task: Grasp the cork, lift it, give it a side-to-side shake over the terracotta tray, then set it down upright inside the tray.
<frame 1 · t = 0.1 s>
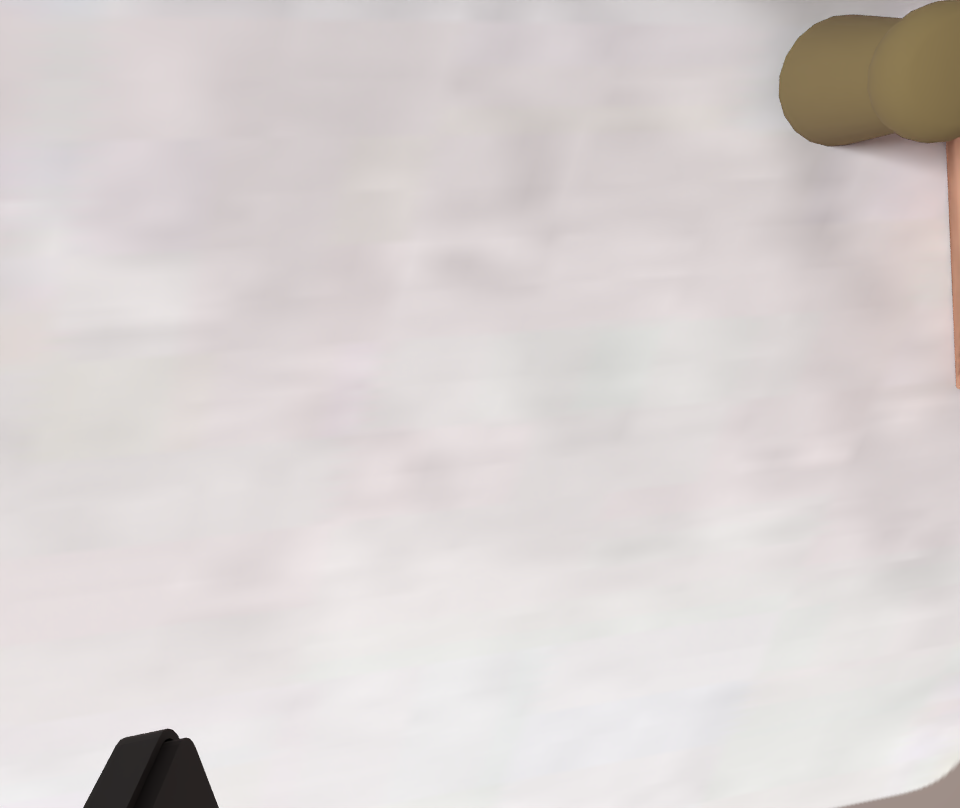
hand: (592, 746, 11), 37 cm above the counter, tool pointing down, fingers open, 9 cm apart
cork: (838, 81, 43), on the counter
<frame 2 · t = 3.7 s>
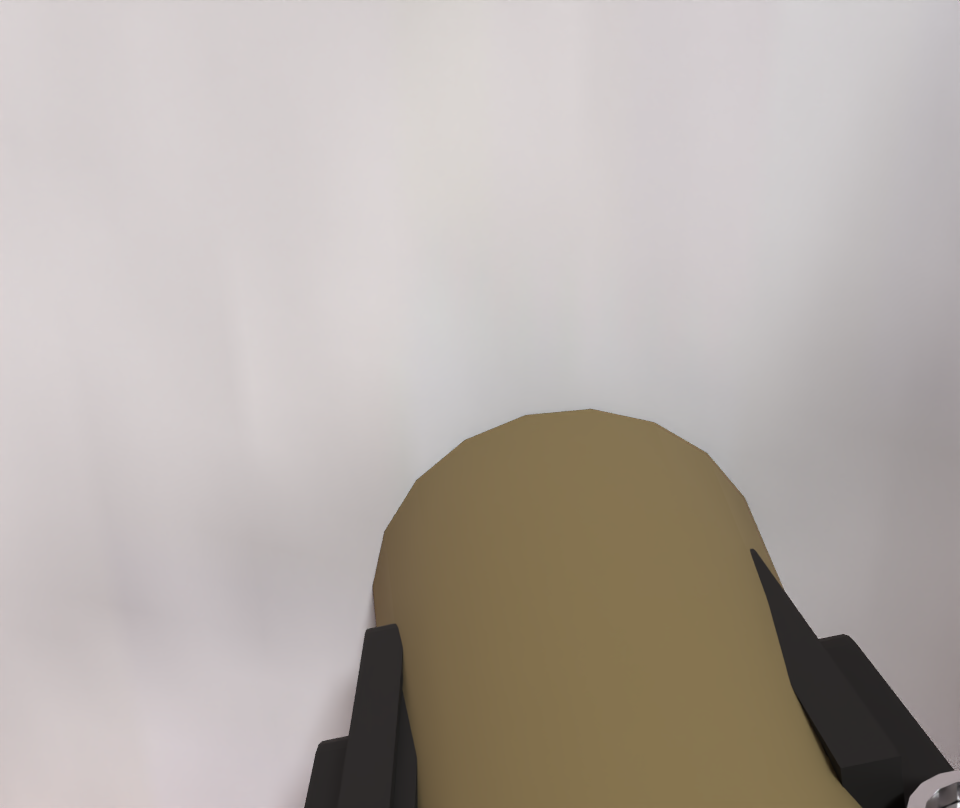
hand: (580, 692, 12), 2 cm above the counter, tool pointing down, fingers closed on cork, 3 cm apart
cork: (568, 588, 14), on the counter, touching gripper
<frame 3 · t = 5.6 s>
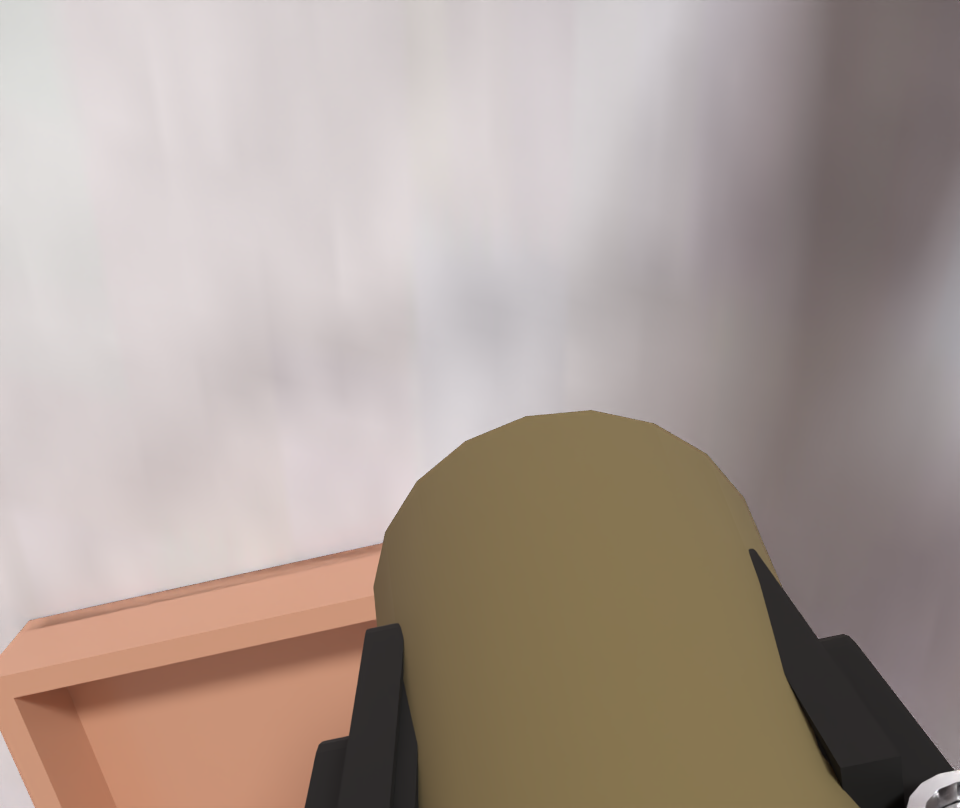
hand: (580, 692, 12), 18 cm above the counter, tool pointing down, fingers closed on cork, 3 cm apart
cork: (568, 589, 14), point 15 cm above the counter, touching gripper
terracotta tray: (279, 723, 32), on the counter
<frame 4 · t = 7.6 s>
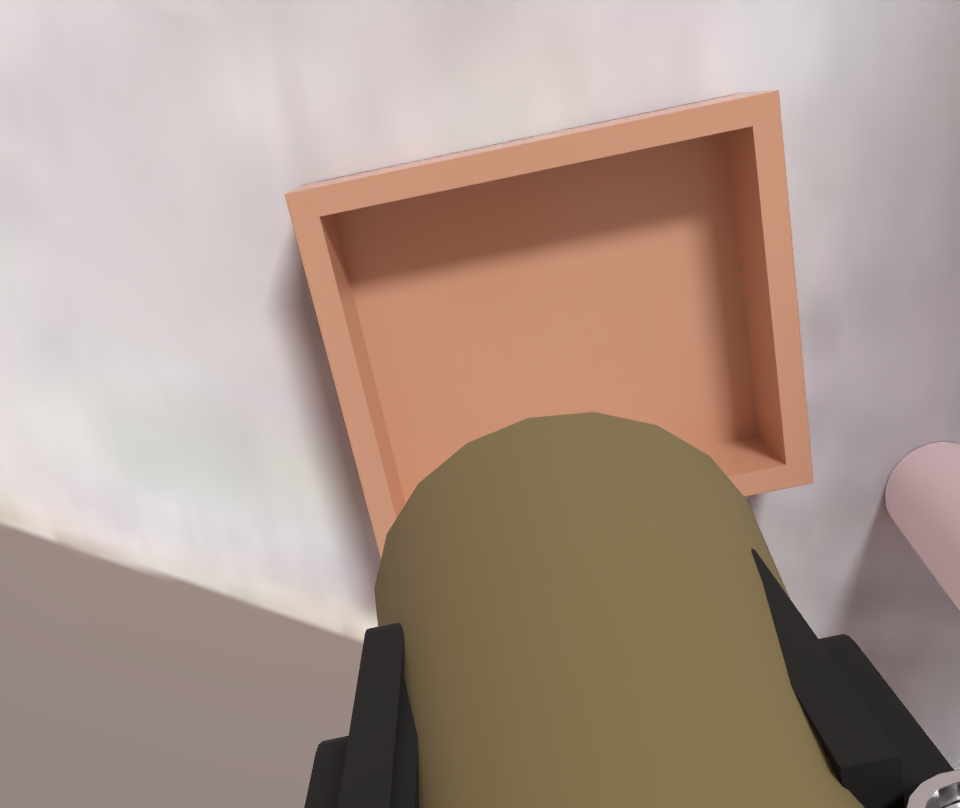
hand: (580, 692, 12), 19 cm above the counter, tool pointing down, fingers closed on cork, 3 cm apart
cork: (570, 591, 14), point 17 cm above the counter, touching gripper
smoothie: (932, 487, 33), on the counter
terracotta tray: (552, 321, 30), on the counter
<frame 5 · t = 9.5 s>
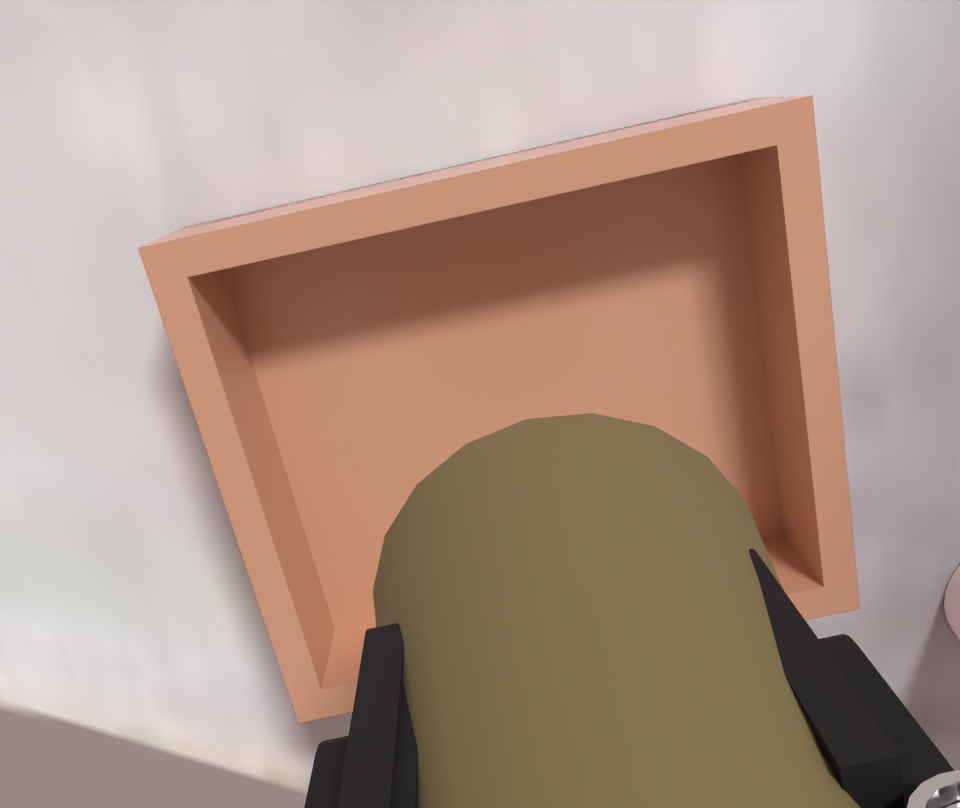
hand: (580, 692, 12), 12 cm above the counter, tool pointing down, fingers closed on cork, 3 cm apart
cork: (568, 592, 14), point 10 cm above the counter, touching gripper
terracotta tray: (516, 395, 23), on the counter
when the fingers open (4 cm above the counter, at t = 11.2 s): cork drops 1 cm, resting on terracotta tray.
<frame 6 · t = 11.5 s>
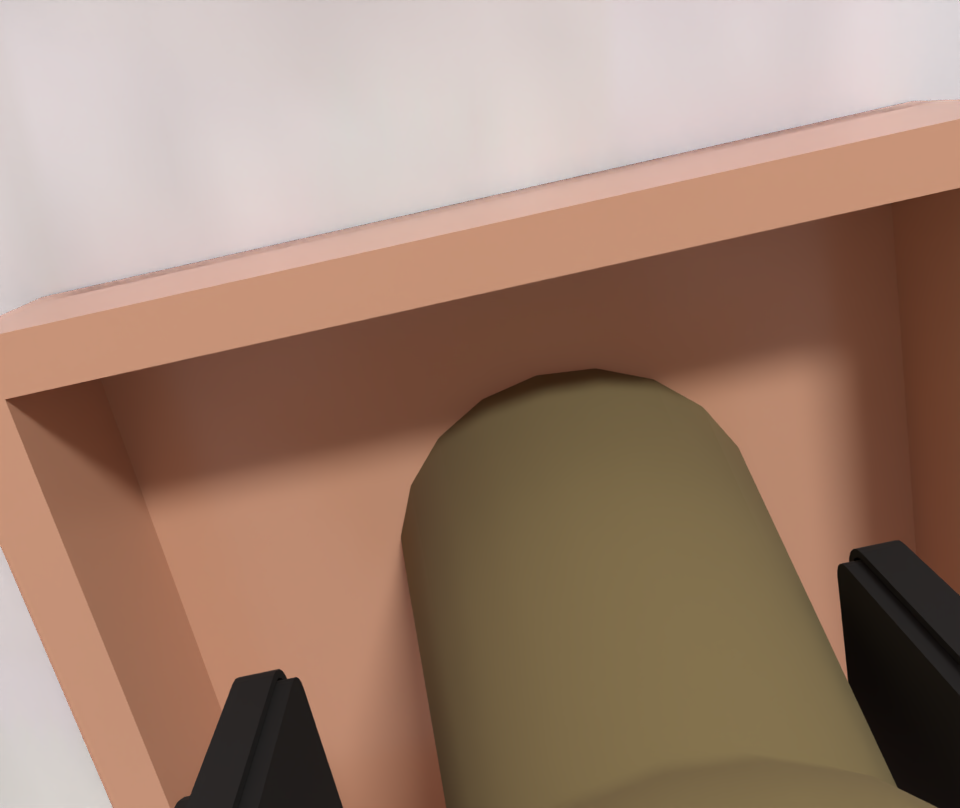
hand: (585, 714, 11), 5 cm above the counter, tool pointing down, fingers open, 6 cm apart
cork: (579, 536, 15), point 1 cm above the counter, touching terracotta tray
terracotta tray: (542, 537, 16), on the counter
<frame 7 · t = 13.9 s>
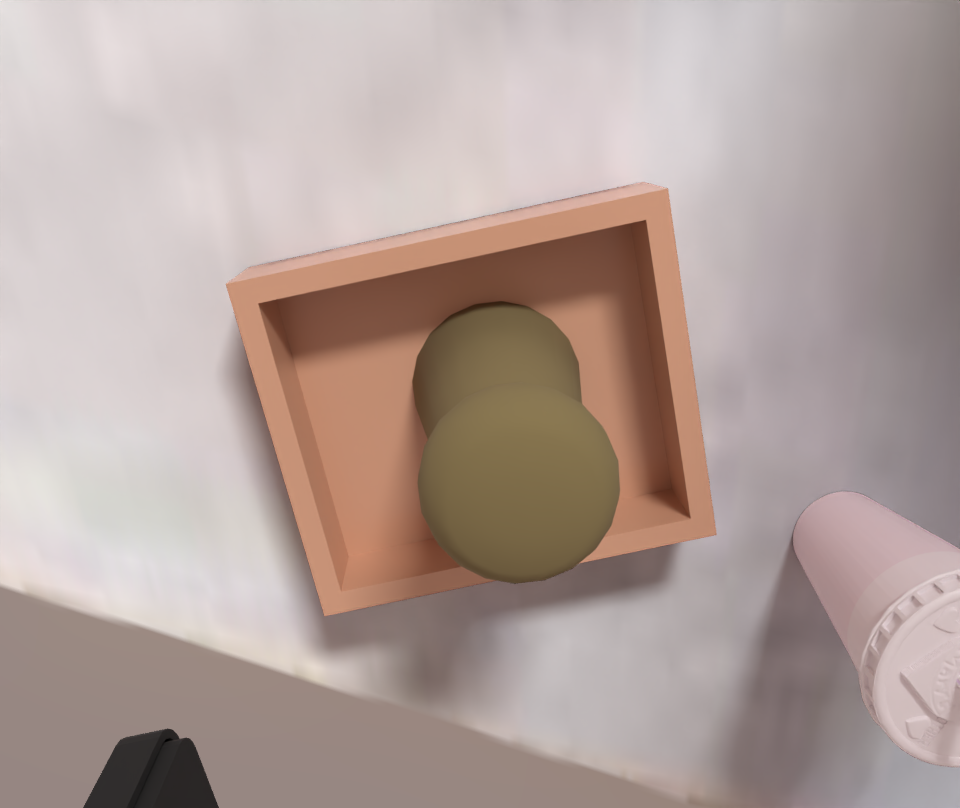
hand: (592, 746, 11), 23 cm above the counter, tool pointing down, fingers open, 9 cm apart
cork: (496, 383, 32), point 1 cm above the counter, touching terracotta tray
smoothie: (837, 532, 35), on the counter
terracotta tray: (480, 387, 33), on the counter
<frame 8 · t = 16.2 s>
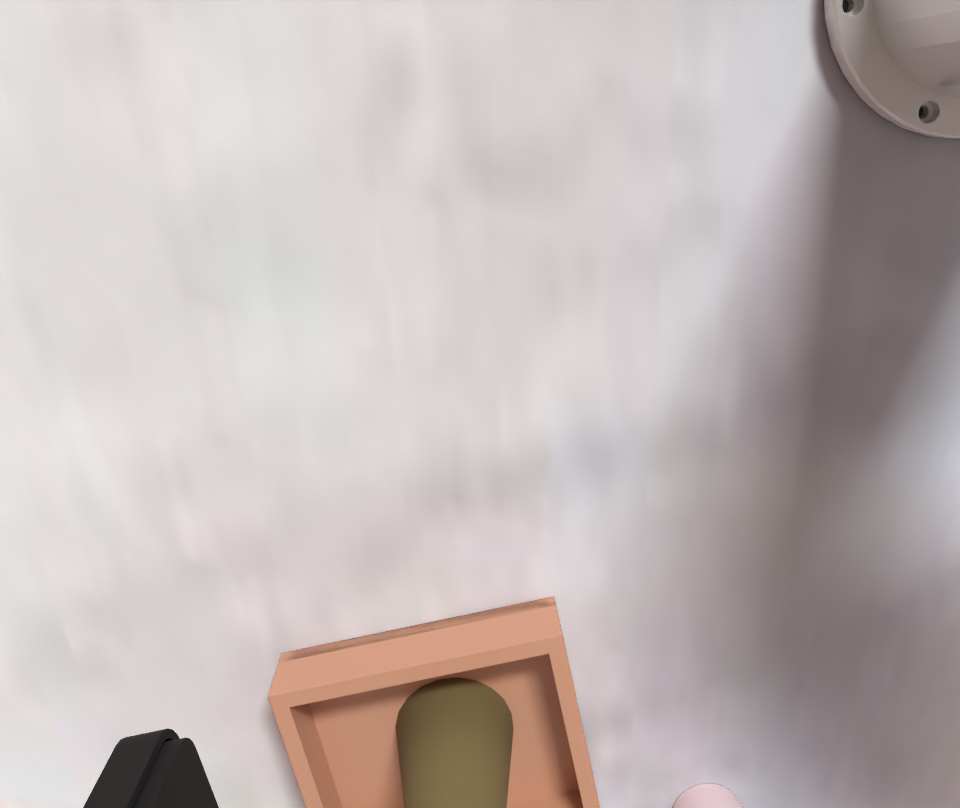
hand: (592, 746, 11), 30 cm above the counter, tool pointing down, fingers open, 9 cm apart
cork: (454, 725, 46), point 1 cm above the counter, touching terracotta tray
terracotta tray: (443, 723, 46), on the counter
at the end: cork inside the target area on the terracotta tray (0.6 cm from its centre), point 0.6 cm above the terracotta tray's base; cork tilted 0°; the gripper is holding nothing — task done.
